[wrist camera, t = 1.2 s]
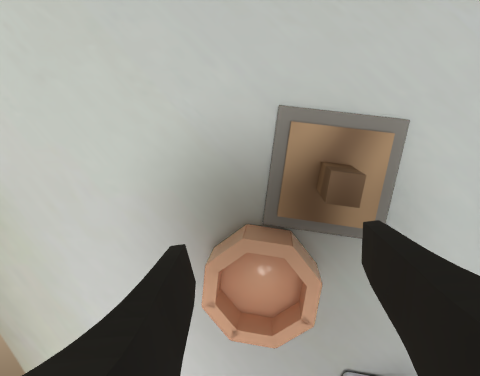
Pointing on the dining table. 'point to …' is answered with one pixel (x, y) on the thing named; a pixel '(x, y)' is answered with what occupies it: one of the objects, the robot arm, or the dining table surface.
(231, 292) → the octagonal copper pot
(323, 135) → the lid
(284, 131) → the mat
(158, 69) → the dining table surface
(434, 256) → the robot arm
